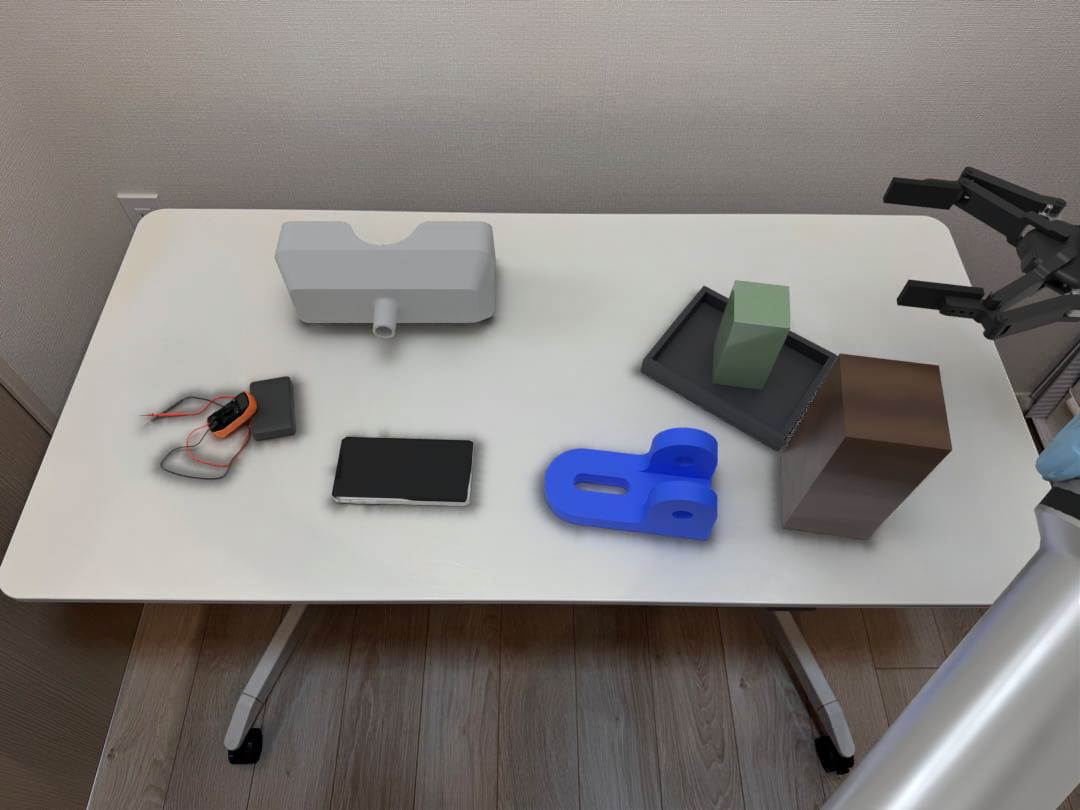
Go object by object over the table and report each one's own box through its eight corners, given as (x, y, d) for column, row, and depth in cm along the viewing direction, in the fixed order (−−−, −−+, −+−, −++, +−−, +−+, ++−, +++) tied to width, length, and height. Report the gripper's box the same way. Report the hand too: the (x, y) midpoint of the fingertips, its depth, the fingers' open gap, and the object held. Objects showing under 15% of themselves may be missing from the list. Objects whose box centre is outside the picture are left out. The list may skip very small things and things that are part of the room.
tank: (290, 362, 94) (259, 296, 84) (310, 265, 103) (284, 194, 92) (493, 362, 94) (488, 296, 84) (496, 265, 103) (492, 194, 92)
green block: (762, 390, 92) (790, 328, 82) (712, 383, 92) (734, 321, 82) (762, 350, 95) (789, 286, 85) (713, 344, 95) (734, 279, 85)
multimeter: (130, 489, 85) (115, 475, 82) (144, 399, 91) (132, 383, 88) (294, 470, 86) (286, 455, 83) (298, 382, 93) (290, 366, 90)
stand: (866, 540, 82) (952, 450, 65) (782, 528, 83) (845, 436, 66) (860, 466, 87) (939, 364, 70) (780, 456, 88) (839, 353, 71)
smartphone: (468, 503, 83) (330, 499, 83) (469, 508, 84) (332, 504, 84) (473, 439, 87) (342, 435, 87) (474, 444, 88) (344, 440, 88)
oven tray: (776, 451, 88) (783, 440, 86) (640, 371, 94) (642, 359, 92) (831, 367, 94) (838, 355, 92) (700, 298, 100) (703, 285, 98)
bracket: (707, 471, 87) (723, 431, 79) (706, 540, 82) (723, 504, 75) (549, 453, 88) (550, 411, 80) (540, 519, 83) (540, 482, 76)
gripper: (1135, 396, 68) (892, 366, 70) (1072, 202, 81) (869, 181, 83) (1198, 346, 62) (928, 314, 63) (1118, 144, 75) (897, 122, 77)
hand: (894, 238), depth 73 cm, fingers open, 13 cm apart
